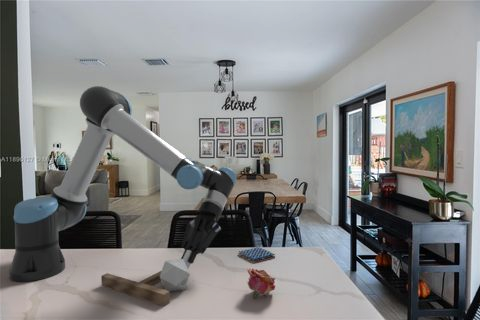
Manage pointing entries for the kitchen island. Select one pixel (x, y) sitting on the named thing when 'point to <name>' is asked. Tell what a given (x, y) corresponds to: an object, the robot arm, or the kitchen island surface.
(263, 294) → the flower
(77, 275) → the kitchen island surface
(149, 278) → the walnut T rail
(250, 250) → the woven mat
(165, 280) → the die
